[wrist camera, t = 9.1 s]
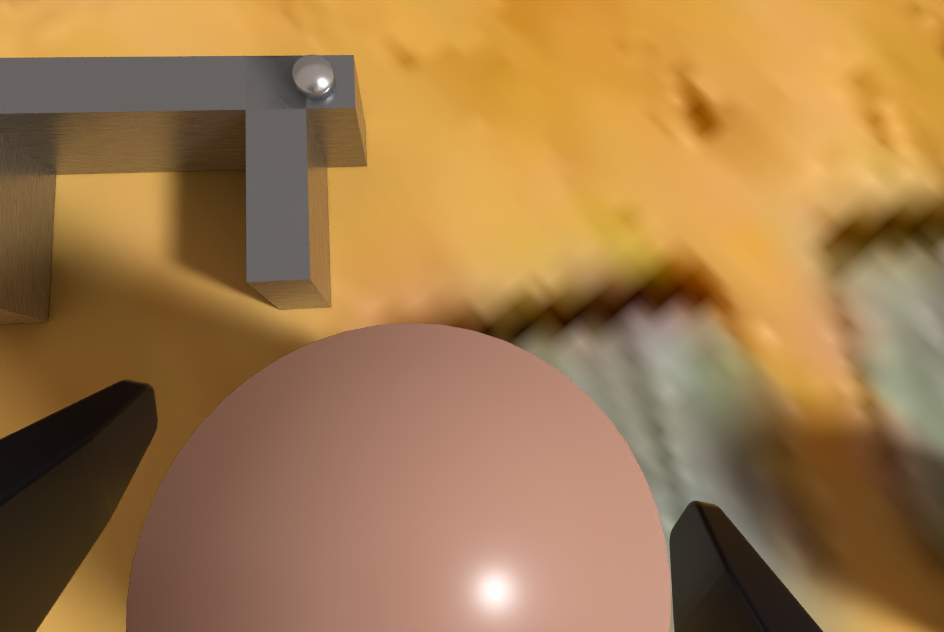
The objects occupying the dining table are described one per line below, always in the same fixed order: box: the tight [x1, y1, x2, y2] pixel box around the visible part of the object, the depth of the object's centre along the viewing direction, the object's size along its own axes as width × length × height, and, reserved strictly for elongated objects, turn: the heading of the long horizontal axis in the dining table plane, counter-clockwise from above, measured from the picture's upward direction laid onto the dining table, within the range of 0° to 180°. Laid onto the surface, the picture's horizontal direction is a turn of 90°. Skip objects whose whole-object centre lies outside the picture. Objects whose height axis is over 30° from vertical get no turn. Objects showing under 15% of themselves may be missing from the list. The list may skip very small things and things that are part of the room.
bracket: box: [0, 55, 367, 324], centre depth 16 cm, size 6×12×4 cm, turn 94°
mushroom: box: [126, 323, 671, 632], centre depth 11 cm, size 5×5×12 cm
